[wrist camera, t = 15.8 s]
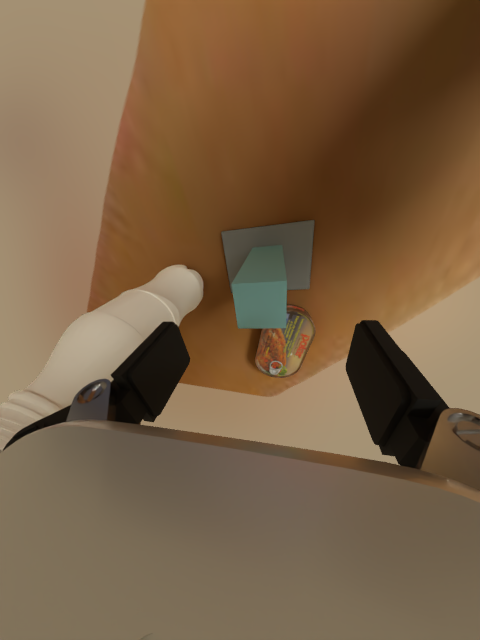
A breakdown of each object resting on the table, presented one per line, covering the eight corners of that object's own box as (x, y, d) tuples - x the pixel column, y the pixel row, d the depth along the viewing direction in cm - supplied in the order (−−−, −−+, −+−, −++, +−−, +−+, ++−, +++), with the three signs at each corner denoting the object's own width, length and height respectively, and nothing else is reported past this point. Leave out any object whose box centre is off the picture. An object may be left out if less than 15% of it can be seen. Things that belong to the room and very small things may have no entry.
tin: (267, 305, 27) (325, 319, 26) (270, 296, 30) (322, 309, 29) (250, 372, 35) (293, 384, 34) (253, 361, 38) (293, 372, 37)
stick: (282, 274, 26) (286, 328, 15) (254, 275, 27) (238, 328, 16) (282, 244, 24) (286, 281, 13) (252, 247, 25) (231, 283, 13)
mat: (313, 219, 23) (314, 220, 22) (308, 287, 27) (309, 288, 27) (222, 231, 25) (221, 231, 25) (231, 291, 30) (231, 292, 29)
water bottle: (181, 250, 28) (-108, 387, 7) (216, 283, 30) (73, 468, 9) (160, 281, 31) (-74, 434, 10) (193, 309, 33) (50, 484, 12)
